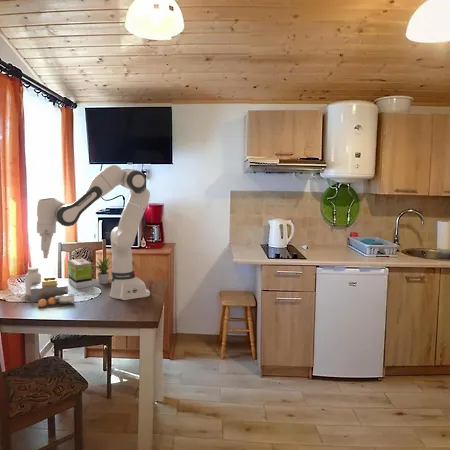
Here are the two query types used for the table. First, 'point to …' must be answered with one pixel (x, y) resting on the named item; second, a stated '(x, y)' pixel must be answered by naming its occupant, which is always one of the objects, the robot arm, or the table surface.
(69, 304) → the mat
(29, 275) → the pill bottle
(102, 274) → the house plant
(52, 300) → the bead
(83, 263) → the tea box
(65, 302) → the spout can
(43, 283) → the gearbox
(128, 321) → the table surface
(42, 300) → the bead
